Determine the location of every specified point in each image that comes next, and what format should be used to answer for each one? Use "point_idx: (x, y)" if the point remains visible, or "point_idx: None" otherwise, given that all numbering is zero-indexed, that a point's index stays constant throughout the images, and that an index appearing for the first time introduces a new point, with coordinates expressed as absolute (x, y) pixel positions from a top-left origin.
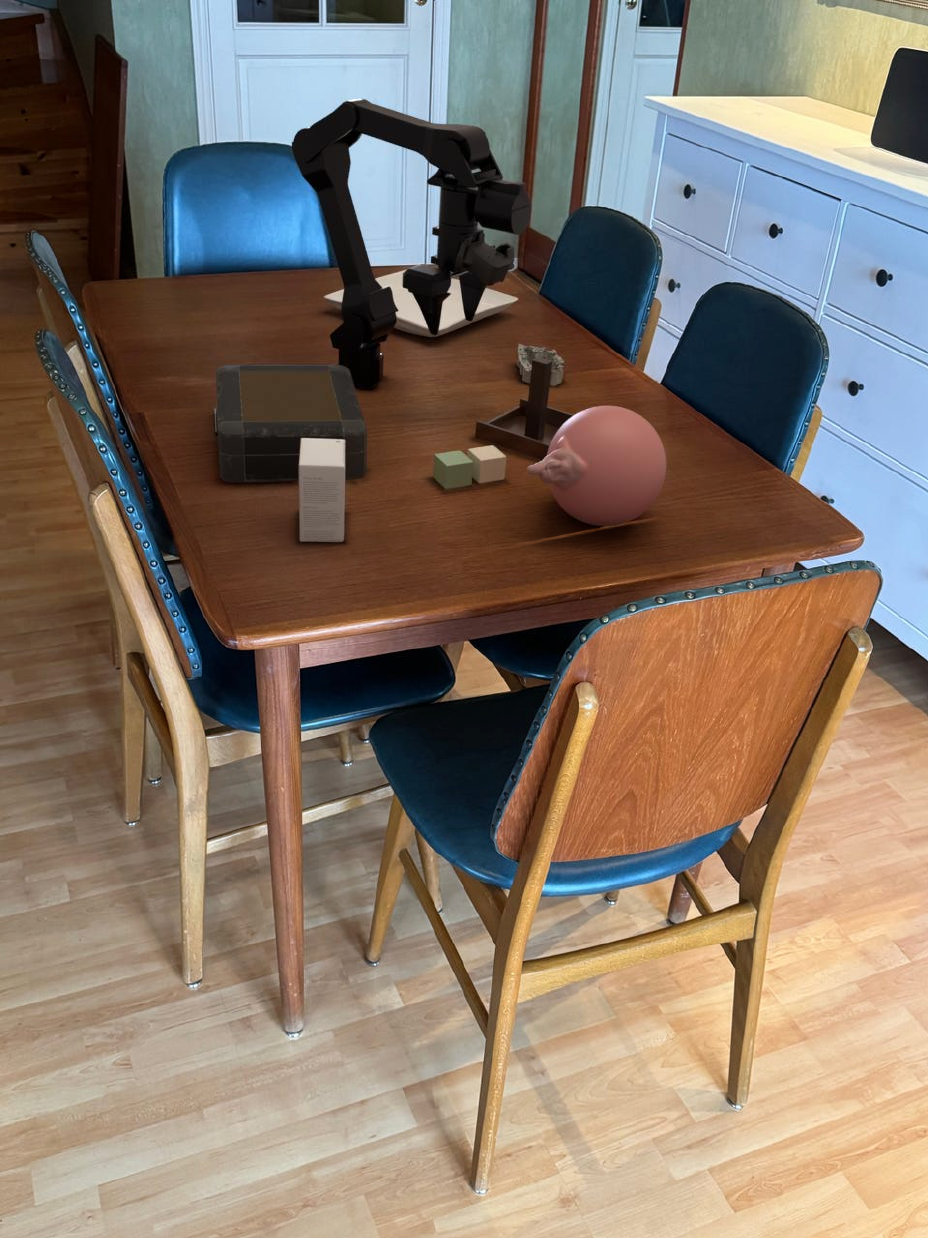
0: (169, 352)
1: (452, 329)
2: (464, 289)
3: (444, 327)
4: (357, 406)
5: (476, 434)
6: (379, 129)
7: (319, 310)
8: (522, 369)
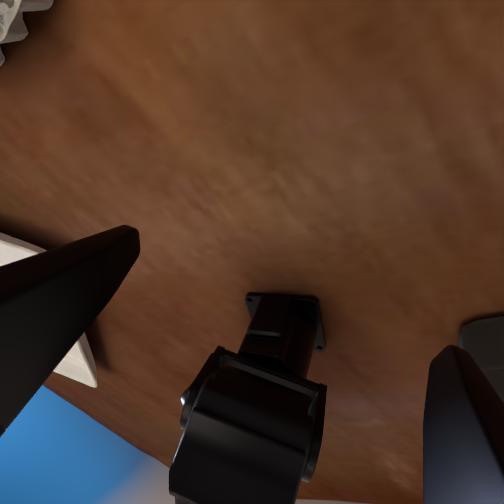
0: (317, 473)
1: (15, 238)
2: (17, 392)
3: (34, 254)
4: None
5: None
6: None
7: (107, 373)
8: (14, 28)
